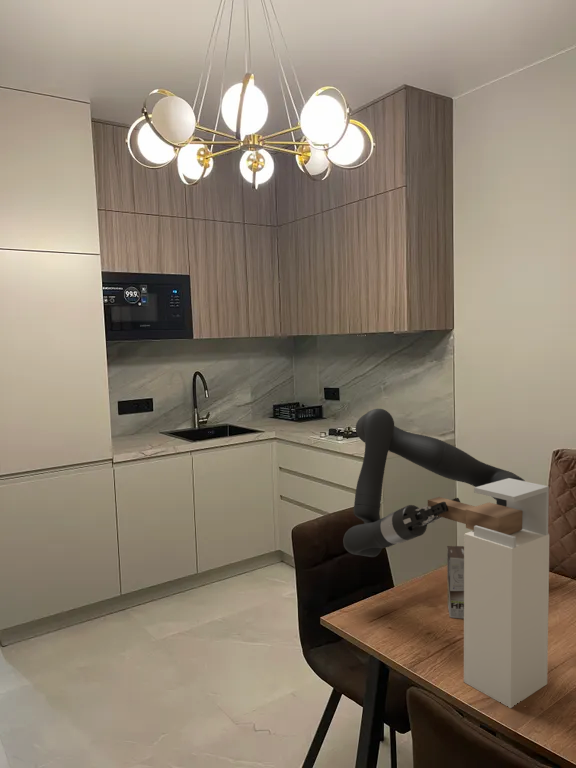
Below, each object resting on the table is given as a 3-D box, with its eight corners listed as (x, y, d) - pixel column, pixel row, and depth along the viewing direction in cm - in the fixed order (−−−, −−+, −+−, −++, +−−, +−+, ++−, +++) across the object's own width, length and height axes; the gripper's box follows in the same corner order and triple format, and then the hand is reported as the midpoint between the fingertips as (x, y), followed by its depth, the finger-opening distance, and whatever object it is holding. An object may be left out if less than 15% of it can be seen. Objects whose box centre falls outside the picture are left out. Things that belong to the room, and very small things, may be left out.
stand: (463, 682, 123) (464, 486, 119) (500, 660, 130) (502, 476, 127) (510, 708, 114) (512, 497, 110) (547, 683, 121) (550, 485, 118)
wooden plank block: (421, 514, 133) (421, 497, 132) (444, 507, 137) (444, 491, 137) (499, 538, 116) (499, 518, 116) (522, 529, 121) (522, 510, 121)
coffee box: (475, 620, 149) (475, 558, 148) (449, 618, 150) (449, 557, 149) (471, 603, 158) (471, 545, 157) (446, 602, 159) (446, 544, 158)
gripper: (376, 516, 140) (424, 493, 127) (416, 504, 148) (465, 482, 136) (388, 546, 137) (438, 526, 125) (428, 533, 146) (479, 513, 133)
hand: (452, 504), depth 130 cm, fingers closed on wooden plank block, 4 cm apart
